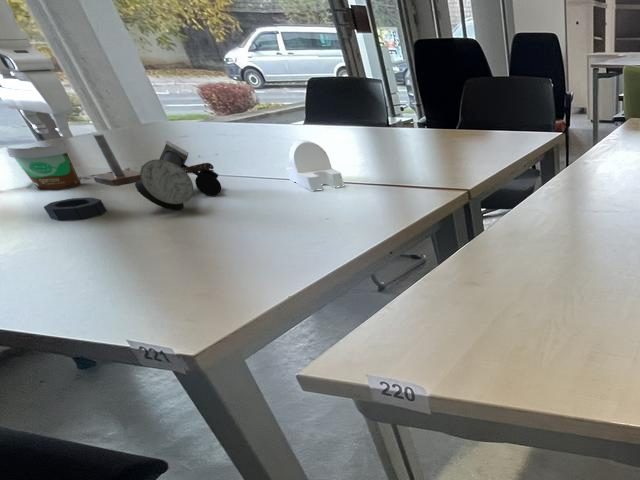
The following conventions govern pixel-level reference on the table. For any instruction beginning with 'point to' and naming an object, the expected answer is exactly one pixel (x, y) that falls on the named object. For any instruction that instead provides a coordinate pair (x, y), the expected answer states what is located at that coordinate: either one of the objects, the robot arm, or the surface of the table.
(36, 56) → the robot arm
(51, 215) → the ring
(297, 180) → the white round-backed notched block
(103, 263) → the table surface
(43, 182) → the food container
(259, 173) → the table surface
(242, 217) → the table surface
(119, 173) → the peg stand
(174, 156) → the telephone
